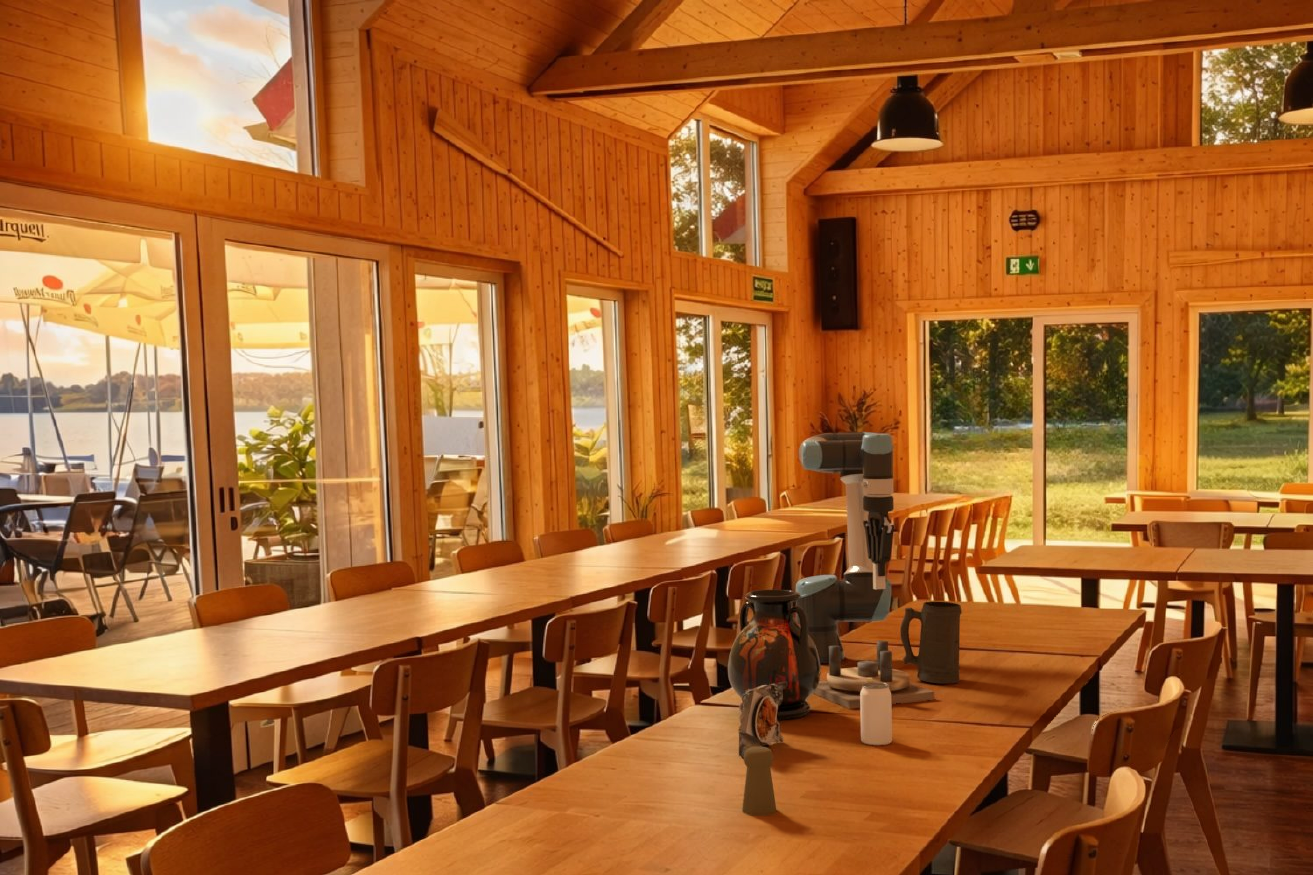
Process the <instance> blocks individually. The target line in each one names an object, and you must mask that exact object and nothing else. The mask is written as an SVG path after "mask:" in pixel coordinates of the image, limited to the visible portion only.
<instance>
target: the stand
mask: <svg viewBox="0 0 1313 875" xmlns="http://www.w3.org/2000/svg"><path fill="white" fill-rule="evenodd" d="M812 695H815V696H818V697H820V696H821V697H820V698H822V697H823V698H822V699H825V700H827V701H830V702H831V703H834V704H836V703H837V705H839V704H840V705H839V706H841V707H843V706H844V708H846V709H848V710H851V709H852V710H853V709H860V692H859V691H848V690H842V689H837V688H834V687H831V686H829V685H828V684H827V679H826V680H824V679H823V680H819V683H818V686H817V688H816V689H815V691H814V692H813V693H812ZM927 700H930V701H935V691H934V690H930V689H927V688H925V687H922V686H919V685H917V684H914V683H911V682H910V685H909V686H908V687H906V688H903V689H899V690H893V691H891V704H892V705H897V704H896V703H901V704H909V703H917V702H918V703H919V702H928V701H927Z"/></svg>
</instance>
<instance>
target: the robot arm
mask: <svg viewBox="0 0 1313 875" xmlns="http://www.w3.org/2000/svg"><path fill="white" fill-rule="evenodd" d="M893 443H894V442H893V436H892V435H891V434H890V433H877V432H868V431H867V432H866V431H860V432H858V431H857V432H856V431H854V432H826V433H820V434H816V435H813V436H810V437H808V438H806V439H805V440H803V441H802V442H801V443H800V446H799V448H798V453H797V455H798V456H797V457H798V459H799V462H800V464H801V466H802V467H801V468H803V469H804V470H806V471H809V470H810V471H815V472H818V473H823V474H839V476H840V477H839V479H840V481H841V482H842V483H843V484H845V494H846V495H845V496H846V497H845V498H846V500H845V501H846V520H847V521H846V522H847V524H846V525H847V526H846V527H847V552H848V568H847V569H846V571H845V572H844V573H843V580H842V579H839V580H838V577H837V576H836V575H835V574H821V575H820V574H819V575H814V576H808V577H805V578H802V579H799V580H798V581H797V582H796V584H795V592H798V593H799V594H800V595H801V597H800V599H798V600H797V601H795V607H801V608H802V609H803V610H804V611H805V613H806V615H807V621H808V634H809V635H810V637H811V638H812V640H813V642H814V644H815V646H816V649H817V652H818V655H819V661H820V665H821V664H822V663H823V664H829V646H840V655H841V662H842V661H844V660H845V651H844V647H843V643H842V641H841V639H840V635H839V631H838V630H839V629H838V623H839V622H840V623H841V622H842V623H843V622H847V623H848V622H850V623H851V622H853V623H854V622H858V623H859V622H861V623H862V622H863V623H864V622H869V623H872V622H883V621H885V620H886V619H887V618H888V615H889V613H890V609H891V608H890V607H891V600H892V580H891V579H889V578H886V564H887V563H888V562H891V556H892V555H891V554H892V543H893V534H894V531H895V525H894V524H890V516H889V512H893V511H894V496H893V494H894V475H893V474H894V472H893V471H894V470H893V469H894V466H893V465H894V457H893V456H894V445H893ZM795 619H796V621H797V622H798V623H799V624H800V618H799V615H798V614H797V613H796V612H795Z"/></svg>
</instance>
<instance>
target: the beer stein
mask: <svg viewBox="0 0 1313 875" xmlns="http://www.w3.org/2000/svg"><path fill="white" fill-rule="evenodd" d="M904 609H905V611H904V615H903V616H904V617H903V619H902V621H901V625H900V639H901V643H902V646H903V648H904V652H905V656H904V657H903V658H902V661H903V665H909V664H913V665H915V666H916V667H917V668H918V669H917V670H918V671H917V675H916V678H917V679H919V680H920V681H923V682H927V683H933V684H943V685H946V684H947V685H949V684H958V683H959V682H960V669H961V667H960V636H961V634H960V631H961V630H960V629H961V627H960V626H961V621H960V620H961V614H962V612H963V611H962V606H961V605H960V604H958V603H955V602H950V601H949V602H948V601H925V602H923V604H922V607H921V611H919V610H915V609H913V607H905V608H904ZM913 619H918V620H919V622H920V624H921V625H920V635H919V648H918V655H915V654H914V653H913V648H912V646H911V641H910V634H909V631H910V630H909V629H910V624H911V622H912V620H913Z"/></svg>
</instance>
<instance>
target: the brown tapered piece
mask: <svg viewBox="0 0 1313 875" xmlns="http://www.w3.org/2000/svg"><path fill="white" fill-rule="evenodd" d="M772 751H773V750H772V749H770V748H769V747H766V746H761V747H750V748H748V749H747V750H746V751H745V752H744V758H743V762H744V765H745V766H746V772H745V783H744V790H743V801H742V810H741V811H742V812H743V813H744V814H745V815H750V816H758V817H759V816H761V817H762V816H764V817H765V816H769V815H773V814H775V813H776V812H777V805H776V804H777V803H776V798H775V791H774V784H773V778H772V771H771V768H772V765H773V763H774V754H773V752H772Z"/></svg>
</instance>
